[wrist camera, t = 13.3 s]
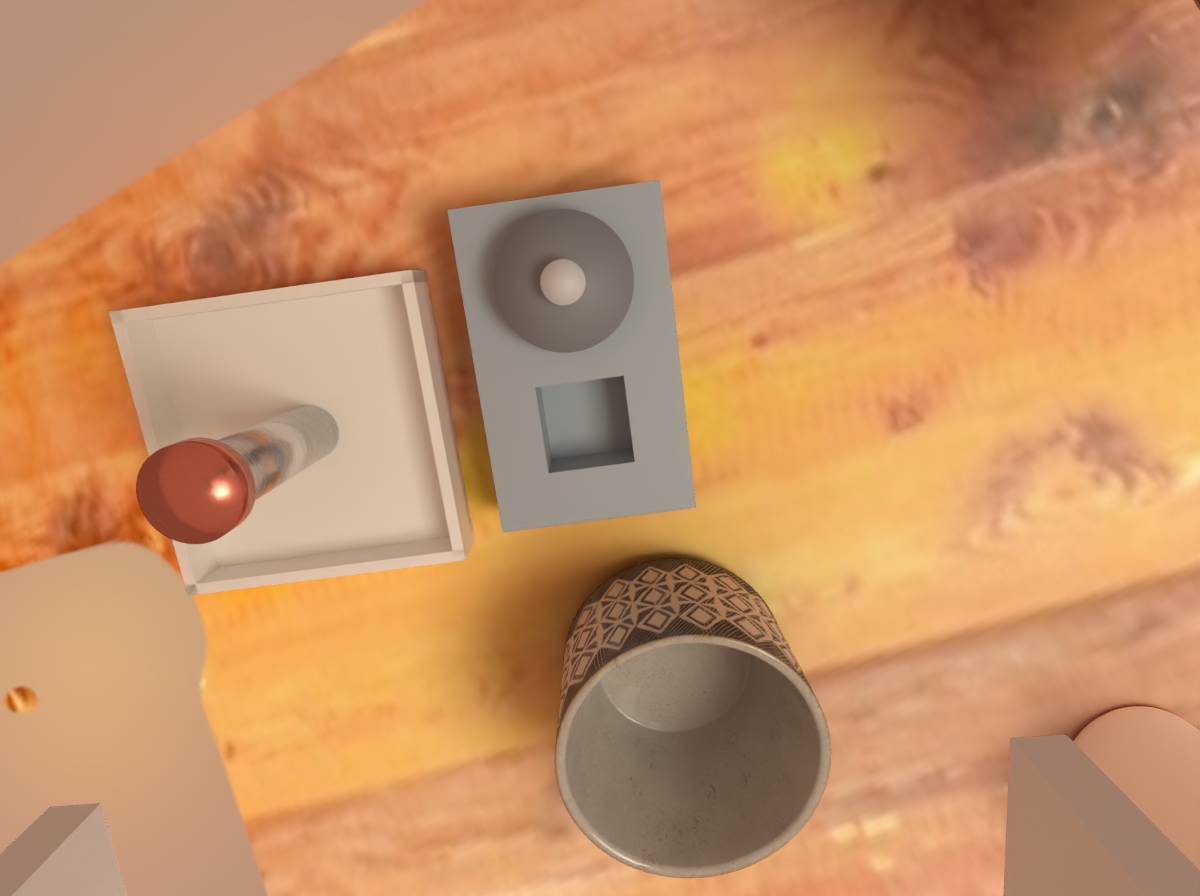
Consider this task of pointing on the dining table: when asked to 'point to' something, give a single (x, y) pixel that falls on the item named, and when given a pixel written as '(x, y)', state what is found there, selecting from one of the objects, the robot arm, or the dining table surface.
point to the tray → (320, 378)
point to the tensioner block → (576, 354)
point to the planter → (686, 723)
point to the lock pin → (229, 473)
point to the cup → (1152, 768)
